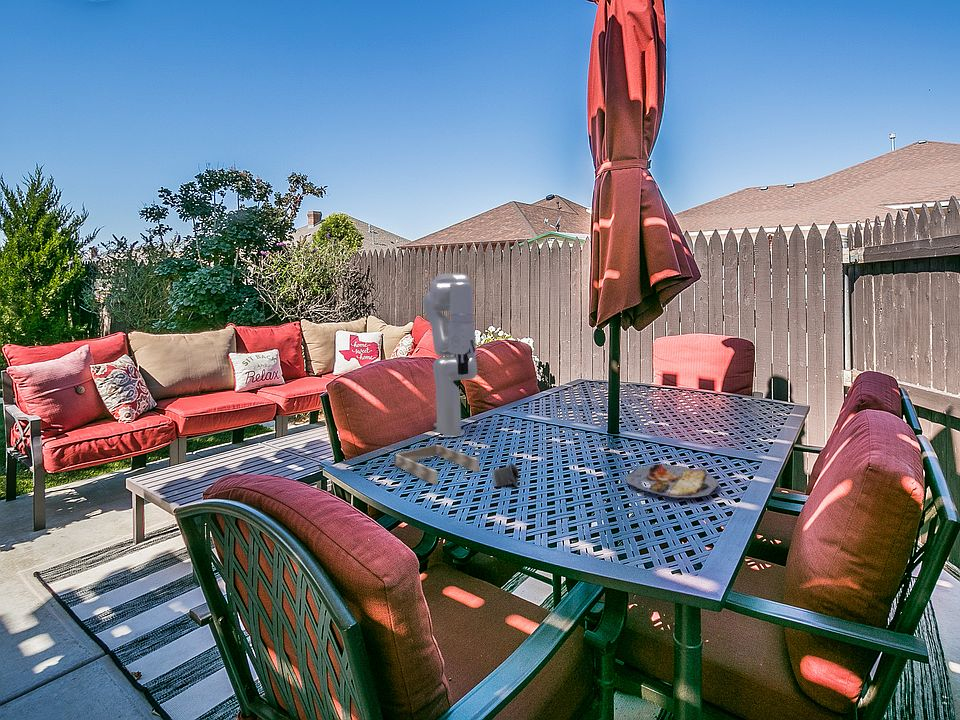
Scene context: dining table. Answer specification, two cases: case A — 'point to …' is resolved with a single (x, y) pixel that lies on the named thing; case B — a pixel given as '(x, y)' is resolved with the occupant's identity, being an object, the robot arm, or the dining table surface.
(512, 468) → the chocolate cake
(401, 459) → the beige u-shaped frame
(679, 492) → the food plate
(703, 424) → the dining table surface
